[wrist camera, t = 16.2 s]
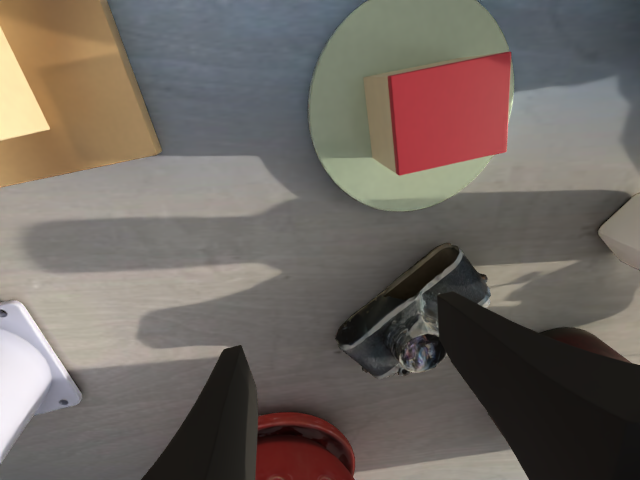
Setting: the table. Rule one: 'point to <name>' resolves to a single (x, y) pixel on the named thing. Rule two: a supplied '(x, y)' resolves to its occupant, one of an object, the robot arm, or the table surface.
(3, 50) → the red and beige block
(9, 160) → the board
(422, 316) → the camera
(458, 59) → the cake slice
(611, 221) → the pepper shaker
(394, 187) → the plate
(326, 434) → the flower pot
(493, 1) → the table surface
